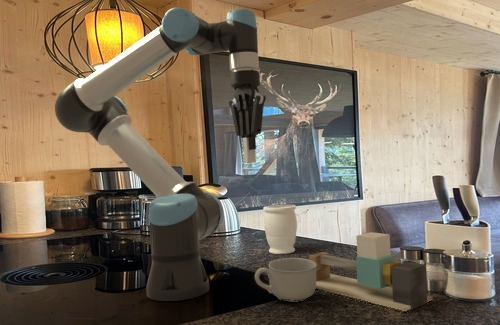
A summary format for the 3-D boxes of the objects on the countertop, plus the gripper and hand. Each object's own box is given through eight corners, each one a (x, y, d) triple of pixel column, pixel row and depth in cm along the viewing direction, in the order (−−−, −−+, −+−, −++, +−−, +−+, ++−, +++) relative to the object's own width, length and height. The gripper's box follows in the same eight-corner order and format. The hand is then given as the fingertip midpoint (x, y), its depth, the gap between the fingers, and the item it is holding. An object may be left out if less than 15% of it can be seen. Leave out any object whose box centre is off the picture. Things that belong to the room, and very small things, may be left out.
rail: (404, 313, 91) (402, 272, 91) (303, 286, 113) (301, 253, 113) (432, 301, 98) (430, 262, 97) (331, 277, 120) (329, 246, 119)
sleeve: (380, 288, 98) (377, 239, 98) (357, 283, 103) (354, 235, 103) (397, 282, 102) (394, 234, 102) (374, 277, 107) (372, 231, 106)
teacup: (313, 289, 110) (312, 256, 110) (322, 304, 100) (320, 267, 99) (254, 293, 110) (252, 259, 110) (257, 309, 99) (254, 271, 99)
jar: (298, 247, 158) (295, 203, 158) (298, 254, 148) (295, 207, 148) (266, 249, 159) (264, 204, 159) (264, 255, 149) (262, 208, 149)
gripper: (272, 68, 119) (277, 161, 119) (241, 76, 129) (246, 162, 129) (248, 66, 114) (254, 163, 114) (218, 74, 124) (223, 164, 125)
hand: (250, 162), depth 122 cm, fingers closed
